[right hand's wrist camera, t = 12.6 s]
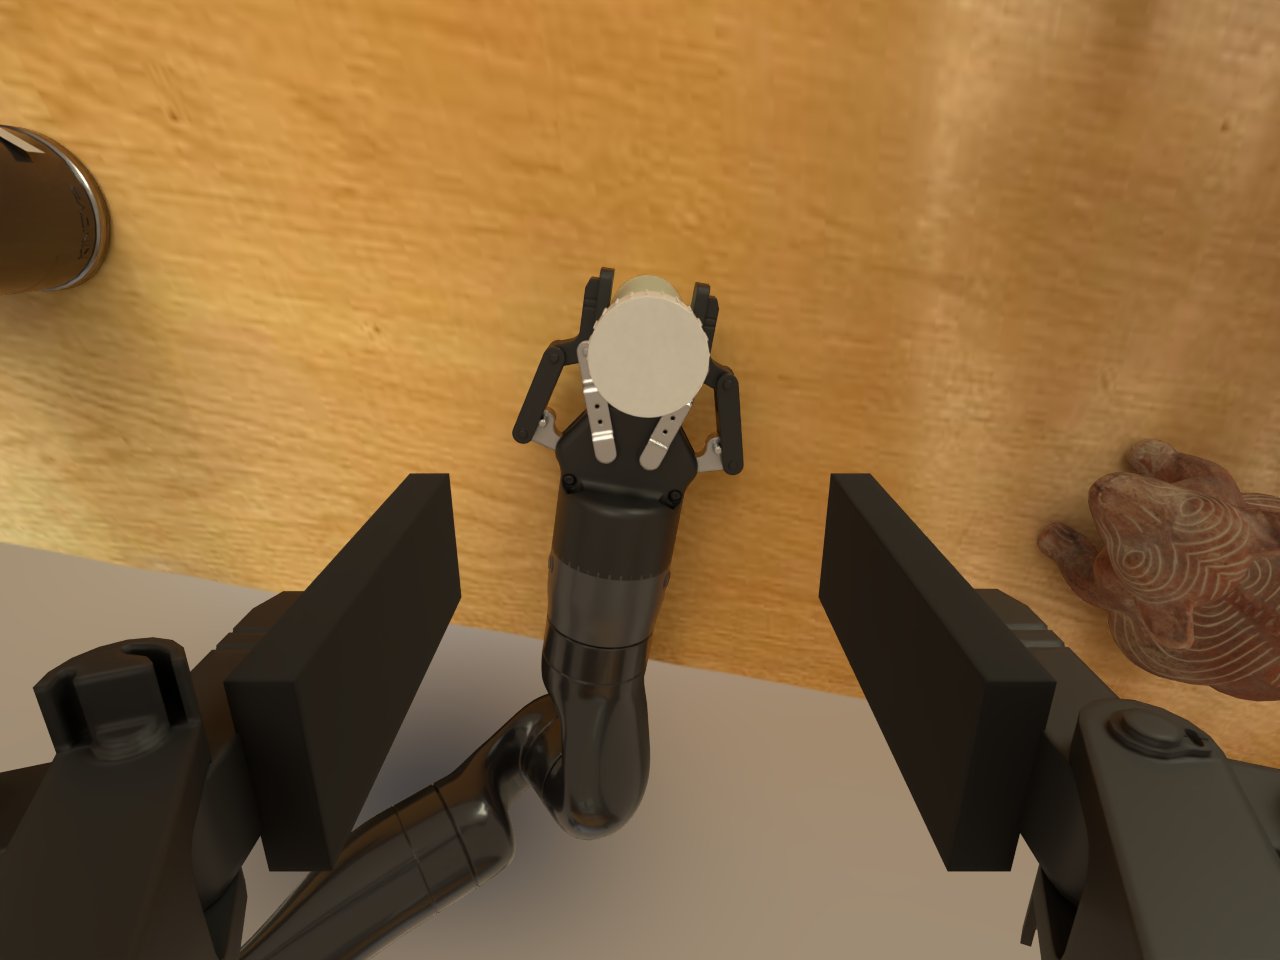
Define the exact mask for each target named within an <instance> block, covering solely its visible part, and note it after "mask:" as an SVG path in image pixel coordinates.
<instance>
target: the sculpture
mask: <svg viewBox="0 0 1280 960" xmlns="http://www.w3.org/2000/svg"><path fill="white" fill-rule="evenodd" d="M1127 460H1128V462H1129V464H1130V465H1131V466H1132V467H1133V468H1134V469H1136V470H1137V471H1138V472H1139V473H1140V474H1141V475H1140V474H1136V473H1130V472H1121V473H1112V474H1108V475H1106V476H1104V477H1101V478H1099V479H1098V480H1097V481H1096V482H1095V483H1094V484H1093V485H1092V486H1091V488H1090V490H1089V499H1088V503H1089V507H1090V510H1091V513H1092V517H1093V520H1094V523H1095V525H1096V528H1097V530H1098V532H1099V535H1100V537H1101V539H1102V541H1103V543H1104V545H1105V546H1104V547H1103V548H1102V550H1101V551H1100V552H1099V553H1097V551H1096V549H1095V547H1094V545H1093V544H1092V543H1091V542H1090V541H1089V540H1088V539H1087V538H1086V537H1085V536H1083V535H1082V534H1080V533H1079V532H1077V531H1075V530H1074V529H1072V528H1070V527H1068V526H1066V525H1065V524H1061V523H1054V524H1051V525H1049V526H1048V527H1047V528H1045V529H1044V530H1043V531H1042V533H1041V534H1040V535H1039V537H1038V542H1037V544H1038V546H1039V548H1040V549H1041V551H1042V552H1043V553H1044V554H1046V555H1047V556H1049V557H1050V558H1051V559H1053V560H1054V561H1055V562H1057V565H1058V567H1059V569H1060V571H1061V573H1062V575H1063V577H1064V578H1065V580H1066V581H1067V583H1068V585H1069V586H1070V587H1071V588H1072V590H1073V591H1074V592H1075V593H1076V594H1077V595H1078V596H1079V597H1080V598H1081V599H1082V600H1084V601H1086V602H1087V603H1089V604H1091V605H1094V606H1096V607H1099V608H1101V609H1104V610H1108V622H1109V627H1110V631H1111V633H1112V636H1113V638H1114V641H1115V642H1116V644H1117V645H1118V646H1119V648H1120V649H1121V651H1122V652H1123V653H1124V655H1125V656H1126V657H1127V658H1128V659H1129V660H1130V661H1132V662H1133V663H1134V664H1135V665H1137V666H1139V667H1140V668H1142V669H1144V670H1145V671H1147V672H1149V673H1152V674H1154V675H1156V676H1158V677H1162V678H1166V679H1170V680H1175V681H1179V682H1183V683H1188V684H1195V685H1209V686H1210V687H1212V688H1214V689H1215V690H1217V691H1219V692H1222V693H1224V694H1227V695H1230V696H1233V697H1236V698H1239V699H1245V700H1252V701H1277V700H1280V498H1278V497H1275V496H1271V495H1265V494H1259V493H1240V490H1239V489H1238V487H1237V485H1236V483H1235V481H1234V479H1233V478H1232V476H1231V475H1230V473H1229V472H1228V471H1227V470H1226V469H1224V468H1223V467H1221V466H1219V465H1218V464H1216V463H1214V462H1211V461H1209V460H1206V459H1202V458H1199V457H1195V456H1191V455H1187V454H1183V453H1179V452H1177V451H1176V450H1175V449H1174V448H1173V447H1172V446H1170V445H1169V444H1168V443H1166V442H1163V441H1160V440H1157V439H1144V440H1143V441H1141V442H1139V443H1138V444H1136V445H1135V446H1134V447H1133V449H1132V450H1131V452H1130V453H1129V455H1128V459H1127Z"/></svg>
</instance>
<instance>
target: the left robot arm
mask: <svg viewBox="0 0 1280 960" xmlns="http://www.w3.org/2000/svg"><path fill="white" fill-rule="evenodd" d="M109 241H110V222H109V216H108V211H107V207H106V204H105V201H104V199H103V196H102V194H101V192H100V190H99V188H98V186H97V184H96V182H95V181H94V179H93V178H92V176H91V175H90V173H89V172H88V170H87V169H86V168H85V167H84V166H83V164H82V163H81V162H80V161H79V160H78V159H77V158H76V157H75V156H74V155H73V154H72V153H71V152H69V151H68V150H67V149H66V148H64V147H63V146H62V145H60V144H59V143H57V142H56V141H54V140H53V139H51V138H49V137H47V136H45V135H43V134H40V133H38V132H35V131H32V130H29V129H25V128H21V127H14V126H7V125H0V295H7V294H16V293H24V292H32V291H54V290H62V289H67V288H72V287H75V286H77V285H79V284H82V283H83V282H85V281H87V280H88V279H89V278H91V277H92V276H93V275H94V274H95V273H96V272H97V271H98V269H99V268H100V266H101V265H102V263H103V261H104V259H105V257H106V254H107V251H108V247H109ZM614 271H615V269H612V268H606V267H602V268H601V271H600V278H598V277H591V278H590V280H589V282H588V284H587V285H586V287H585V294H584V302H583V310H582V318H581V326H580V332H579V334H578V335H577V336H576V337H574V338H571V339H566V340H555V341H553V342H552V343H551V344H550V345H549V347H548V348H547V349H546V351H545V352H544V354H543V357H542V359H541V362H540V364H539V367H538V369H537V372H536V374H535V377H534V379H533V381H532V384H531V386H530V389H529V391H528V394H527V396H526V399H525V401H524V404H523V406H522V409H521V411H520V413H519V416H518V418H517V421H516V423H515V426H514V428H513V431H512V435H513V438H514V439H515V440H516V441H517V442H518V443H521V444H525V443H528V442H530V441H533V442H536V443H538V444H540V445H543V446H545V447H548V448H550V449H552V450H555V454H556V458H557V460H558V462H559V465H560V469H561V478H560V486H559V494H558V502H557V510H556V517H555V525H554V533H553V541H552V549H551V553H550V556H549V559H548V568H549V572H548V612H547V620H546V628H545V636H544V644H543V650H542V678H543V682H544V685H545V687H546V689H547V691H548V694H546V695H543V696H541V697H539V698H537V699H535V700H533V701H532V702H530V703H529V704H527V705H526V706H525V707H523V708H522V709H521V710H520V711H519V712H517V713H516V714H515V715H514V716H513V717H512V718H511V719H510V720H509V721H508V722H507V723H505V724H504V725H503V726H502V727H501V728H500V729H499V730H498V731H497V732H496V733H495V734H494V735H492V736H491V737H490V738H489V739H488V740H487V741H486V742H485V743H484V744H482V745H481V746H480V747H479V748H478V749H477V750H476V751H475V752H474V753H473V754H472V755H470V756H469V757H468V758H467V759H466V760H465V761H464V762H463V763H462V764H461V765H460V766H459V767H458V768H457V769H456V770H454V771H453V772H452V773H451V774H449V775H448V776H446V777H444V778H442V779H440V780H438V781H436V782H434V783H433V785H429V786H427V787H425V788H424V789H422V790H420V791H418V792H416V793H415V794H413V795H411V796H409V797H407V798H406V799H404V800H402V801H400V802H398V803H397V804H395V805H394V806H391V807H389V808H387V809H386V810H384V811H382V812H380V813H378V814H377V815H375V816H374V817H372V818H370V819H369V820H367V821H366V822H364V823H363V824H361V825H360V826H359V827H357V828H356V829H354V830H353V831H352V832H351V833H350V835H349V837H348V839H347V841H346V843H345V845H344V848H343V850H342V852H341V854H340V856H339V858H338V860H337V862H336V865H335V867H334V869H333V871H310V872H309V873H308V875H307V876H306V877H305V878H304V879H303V880H302V881H301V882H300V884H299V885H298V886H297V887H296V888H295V889H294V890H293V891H292V893H291V894H290V895H289V896H288V897H287V898H286V899H285V901H284V902H283V903H282V904H281V905H280V906H279V907H278V909H277V910H276V911H275V912H274V913H273V914H272V915H271V916H270V917H269V919H268V920H267V921H266V922H265V923H264V924H263V925H262V926H261V927H260V928H259V929H258V930H257V932H256V933H255V934H254V935H253V936H252V937H251V938H250V939H249V940H248V941H247V942H246V943H245V944H244V945H243V946H242V947H241V948H240V955H239V960H370V959H371V958H373V957H374V956H375V955H377V954H378V953H379V952H381V951H382V950H383V949H385V948H386V947H388V946H389V945H390V944H392V943H393V942H395V941H396V940H398V939H399V938H401V937H402V936H403V935H405V934H406V933H408V932H410V931H411V930H413V929H414V928H416V927H417V926H419V925H421V924H422V923H424V922H425V921H427V920H428V919H430V918H432V917H433V916H435V915H436V914H437V913H439V912H441V911H442V910H444V909H445V908H447V907H448V906H450V905H452V904H453V903H455V902H456V901H458V900H459V899H461V898H462V897H464V896H465V895H467V894H469V893H470V892H472V891H473V890H475V889H476V887H477V886H478V887H480V886H481V885H483V884H484V883H486V882H487V881H489V880H490V879H492V878H493V877H495V876H496V875H498V874H499V873H500V872H501V871H503V870H504V869H505V868H506V867H507V866H508V865H509V864H510V863H511V861H512V859H513V858H514V855H515V849H516V842H515V836H514V831H513V827H512V823H511V820H510V817H509V814H508V810H509V809H510V807H511V806H512V804H513V803H514V802H515V801H516V799H517V798H518V797H519V796H520V795H521V794H522V793H523V792H524V791H525V790H526V789H527V788H529V787H531V786H532V787H533V789H534V790H535V792H536V793H537V795H538V796H539V798H540V799H541V801H542V803H543V804H544V806H545V807H546V809H547V810H548V812H549V813H550V815H551V816H552V818H553V819H554V821H555V822H556V823H557V825H558V826H559V827H560V828H561V829H562V830H563V831H564V832H566V833H567V834H569V835H570V836H572V837H574V838H576V839H579V840H585V841H596V840H600V839H604V838H607V837H609V836H611V835H613V834H614V833H616V832H617V831H619V830H620V829H621V828H622V827H624V826H625V825H626V824H627V823H628V821H629V820H630V819H631V818H632V816H633V815H634V813H635V812H636V810H637V808H638V807H639V805H640V803H641V801H642V798H643V796H644V793H645V790H646V786H647V782H648V777H649V769H650V742H649V727H648V712H647V701H646V694H645V687H644V674H645V671H646V665H647V661H648V656H649V651H650V646H651V641H652V635H653V630H654V626H655V622H656V619H657V616H658V613H659V610H660V608H661V605H662V602H663V598H664V594H665V589H666V587H667V585H668V582H669V578H670V563H671V559H672V554H673V548H674V543H675V538H676V533H677V528H678V523H679V518H680V513H681V507H682V502H683V497H684V493H685V490H686V488H687V486H688V485H689V484H690V482H691V481H692V480H693V479H694V478H695V476H696V474H697V472H705V471H715V470H724V471H725V472H726V473H727V474H729V475H736V474H738V473H740V472H741V471H742V469H743V449H742V433H741V417H740V401H739V385H738V380H737V379H736V377H735V376H734V373H733V372H732V370H731V369H730V368H729V367H727V366H722V365H721V364H719V363H717V362H715V361H714V360H713V359H712V358H711V356H710V357H709V366H708V372H707V375H706V378H705V380H704V382H703V383H704V384H706V385H708V386H710V387H711V388H713V389H714V398H715V411H716V424H717V433H712V434H710V435H709V436H708V437H707V438H706V441H705V447H704V449H703V450H702V451H700V452H698V453H695V452H694V450H693V448H692V446H691V444H690V442H689V440H688V438H687V436H686V434H685V432H684V430H683V428H682V426H681V424H682V423H683V421H684V419H685V417H686V415H687V414H688V412H689V410H690V408H691V406H692V403H693V400H694V398H695V396H696V395H695V396H694V397H693V399H692V400H691V401H690V402H688V403H687V404H686V405H685V406H683V407H682V408H680V409H679V410H677V411H675V412H673V413H670V414H667V415H664V416H660V417H651V418H646V417H637V416H633V415H629V414H626V413H624V412H622V411H620V410H618V409H616V408H615V407H613V406H612V405H611V404H609V403H608V402H607V401H606V400H605V399H604V398H603V397H602V396H601V394H600V393H599V392H598V390H597V388H596V387H595V385H594V383H593V381H592V378H591V375H590V374H589V373H590V371H589V366H588V360H587V355H588V348H589V344H588V341H589V338H590V336H591V335H592V334H593V332H594V328H593V327H594V325H595V322H596V321H599V319H600V317H601V316H602V314H603V311H604V309H605V308H609V307H610V300H611V293H612V286H613V279H614ZM709 294H710V286H709V285H708V284H705V283H699V282H696V283H695V287H694V292H693V297H692V303H691V309H692V311H693V313H694V315H695V316H696V318H699V319H700V321H701V323H702V326H701V327H702V329H703V331H704V332H705V334H706V335H707V337H708V341H707V342H708V348H709V353H711V347H712V342H713V337H714V332H715V326H716V321H717V316H718V311H719V307H718V301H717V298H716V297H715V296H709ZM576 363H579V366H580V371H581V376H582V382H583V392H584V397H585V402H586V408H587V409H586V410H585V411H584V412H583V413H582V414H581V415H580V416H579V417H578V418H577V419H576V420H575V421H574V422H573V423H572V424H571V425H570V426H569V427H568V428H567V429H566V430H565V431H564V432H563V433H562V432H560V431H559V430H558V429H557V428H556V425H555V421H556V413H555V411H554V410H553V409H552V408H550V407H548V406H547V405H548V402H549V400H550V397H551V395H552V393H553V390H554V388H555V385H556V383H557V381H558V378H559V376H560V373H561V371H562V369H563V366H565V365H570V364H576Z"/></svg>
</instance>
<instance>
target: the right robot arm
mask: <svg viewBox="0 0 1280 960" xmlns="http://www.w3.org/2000/svg"><path fill="white" fill-rule="evenodd" d="M460 599H461V588H460V578H459V568H458V558H457V548H456V538H455V528H454V518H453V508H452V498H451V488H450V478H449V474H409V475H408V476H407V477H406V479H405V480H404V481H403V482H402V483H401V484H400V485H399V486H398V487H397V489H396V490H395V491H394V492H393V493H392V494H391V495H390V496H389V497H388V499H387V500H386V501H385V502H384V503H383V504H382V505H381V506H380V507H379V509H378V510H377V511H376V512H375V513H374V514H373V515H372V516H371V518H370V519H369V520H368V521H367V522H366V523H365V524H364V525H363V526H362V528H361V529H360V530H359V531H358V532H357V533H356V534H355V535H354V536H353V538H352V539H351V540H350V541H349V542H348V543H347V544H346V545H345V546H344V548H343V549H342V550H341V551H340V552H339V553H338V554H337V555H336V556H335V558H334V559H333V560H332V561H331V562H330V563H329V564H328V565H327V566H326V568H325V569H324V570H323V571H322V572H321V573H320V574H319V575H318V576H317V578H316V579H315V580H314V581H313V582H312V583H311V584H310V585H309V586H308V588H307V589H306V590H305V591H283V592H281V593H279V594H278V595H276V596H274V597H272V598H271V599H269V600H267V601H265V602H264V603H262V604H260V605H258V606H257V607H255V608H253V609H252V610H251V611H250V612H249V613H248V614H247V615H246V616H245V617H244V618H243V619H242V620H241V621H240V622H239V623H238V624H237V625H236V626H235V627H234V628H233V633H228V634H227V635H226V636H225V637H224V638H223V639H222V640H221V641H220V642H219V643H218V644H217V645H216V646H217V648H216V650H211V651H210V652H209V653H208V654H207V655H206V656H205V657H204V659H203V660H202V661H201V662H200V663H199V664H198V665H197V666H196V667H195V668H194V669H193V670H192V671H191V672H190V670H189V666H188V662H187V658H186V654H185V651H184V647H182V646H181V645H179V644H178V643H176V642H175V641H173V640H169V639H162V638H154V637H151V638H140V639H130V640H124V641H120V642H116V643H113V644H109V645H105V646H101V647H98V648H95V649H93V650H90V651H88V652H85V653H83V654H81V655H78V656H76V657H73V658H71V659H69V660H68V661H66V662H64V663H63V664H61V665H59V666H58V667H56V668H54V669H53V670H51V671H49V672H48V673H47V674H46V675H45V676H44V677H43V678H42V679H41V680H40V681H39V682H38V683H37V684H36V685H35V686H34V687H33V689H34V692H35V695H36V698H37V701H38V704H39V706H40V709H41V712H42V715H43V717H44V720H45V723H46V726H47V729H48V731H49V734H50V737H51V740H52V743H53V745H54V748H55V751H56V755H55V757H54V759H53V761H52V762H50V763H45V764H40V765H35V766H31V767H26V768H21V769H16V770H11V771H6V772H1V773H0V960H239V955H240V947H241V940H242V933H243V925H244V918H245V910H246V903H247V891H246V884H245V879H244V875H243V871H242V867H241V866H242V865H243V863H244V861H245V860H246V858H247V857H248V855H249V853H250V852H251V850H252V848H253V847H254V845H255V844H256V842H257V840H258V839H259V837H260V835H261V839H262V843H263V847H264V851H265V855H266V860H267V864H268V868H269V871H333V869H334V867H335V865H336V862H337V860H338V858H339V856H340V854H341V852H342V850H343V848H344V845H345V843H346V841H347V839H348V837H349V835H350V833H351V831H352V828H353V826H354V824H355V822H356V820H357V818H358V816H359V814H360V811H361V809H362V807H363V805H364V803H365V801H366V799H367V797H368V794H369V792H370V790H371V788H372V786H373V784H374V782H375V779H376V777H377V775H378V773H379V771H380V769H381V767H382V765H383V762H384V760H385V758H386V756H387V754H388V752H389V750H390V748H391V746H392V743H393V741H394V739H395V737H396V735H397V733H398V731H399V729H400V726H401V724H402V722H403V720H404V718H405V716H406V714H407V712H408V709H409V707H410V705H411V703H412V701H413V699H414V697H415V695H416V692H417V690H418V688H419V686H420V684H421V682H422V680H423V678H424V675H425V673H426V671H427V669H428V667H429V665H430V663H431V661H432V659H433V656H434V654H435V652H436V650H437V648H438V646H439V644H440V641H441V639H442V637H443V635H444V633H445V631H446V629H447V626H448V625H449V622H450V620H451V618H452V616H453V614H454V612H455V610H456V608H457V605H458V603H459V601H460ZM819 599H820V601H821V603H822V605H823V608H824V610H825V612H826V614H827V616H828V618H829V620H830V622H831V625H832V627H833V629H834V631H835V633H836V635H837V637H838V639H839V642H840V644H841V646H842V648H843V650H844V652H845V654H846V656H847V659H848V661H849V663H850V665H851V667H852V669H853V671H854V673H855V676H856V678H857V680H858V682H859V684H860V686H861V688H862V690H863V693H864V695H865V697H866V699H867V701H868V703H869V705H870V707H871V710H872V712H873V714H874V716H875V718H876V720H877V722H878V724H879V726H880V729H881V731H882V733H883V735H884V737H885V739H886V741H887V743H888V746H889V748H890V750H891V752H892V754H893V756H894V758H895V760H896V763H897V765H898V767H899V769H900V771H901V773H902V775H903V777H904V780H905V782H906V784H907V786H908V788H909V790H910V792H911V794H912V797H913V799H914V801H915V803H916V805H917V807H918V809H919V811H920V813H921V816H922V818H923V820H924V822H925V824H926V826H927V828H928V831H929V833H930V835H931V837H932V839H933V841H934V843H935V845H936V847H937V850H938V852H939V854H940V856H941V858H942V860H943V862H944V865H945V867H946V869H947V871H1011V868H1012V864H1013V859H1014V855H1015V851H1016V847H1017V843H1018V839H1019V835H1020V833H1021V835H1022V836H1023V838H1024V840H1025V841H1026V843H1027V845H1028V846H1029V848H1030V850H1031V851H1032V853H1033V854H1034V856H1035V858H1036V859H1037V861H1038V862H1039V867H1038V871H1037V875H1036V879H1035V883H1034V886H1033V890H1032V894H1031V898H1030V901H1029V905H1028V909H1027V913H1026V917H1025V921H1024V924H1023V929H1022V935H1021V942H1020V943H1021V944H1025V945H1028V946H1031V945H1032V941H1033V937H1034V933H1035V930H1038V938H1039V945H1040V953H1041V960H1280V769H1276V768H1271V767H1266V766H1261V765H1256V764H1251V763H1246V762H1242V761H1237V760H1232V759H1228V758H1226V756H1225V754H1224V752H1223V751H1222V750H1221V749H1220V748H1219V746H1218V745H1217V744H1216V743H1215V742H1214V740H1213V739H1212V738H1211V737H1210V736H1209V735H1208V734H1206V733H1205V732H1204V731H1202V730H1201V729H1199V728H1198V727H1197V726H1195V725H1194V724H1192V723H1191V722H1189V721H1188V720H1186V719H1184V718H1182V717H1180V716H1177V715H1175V714H1173V713H1171V712H1169V711H1167V710H1165V709H1163V708H1160V707H1156V706H1153V705H1150V704H1146V703H1143V702H1139V701H1136V700H1129V699H1120V698H1119V697H1118V696H1117V695H1116V694H1115V693H1114V692H1113V691H1112V690H1111V689H1110V688H1109V687H1108V686H1107V685H1106V684H1105V683H1104V682H1103V681H1102V680H1101V679H1100V678H1099V677H1098V676H1097V675H1096V674H1095V673H1094V672H1093V671H1092V670H1091V669H1090V668H1089V667H1088V666H1087V665H1086V664H1085V663H1084V662H1083V661H1082V660H1081V659H1080V658H1079V657H1078V656H1077V655H1076V654H1075V653H1074V652H1073V651H1072V650H1071V649H1070V648H1069V647H1065V646H1064V642H1063V641H1062V640H1061V639H1060V638H1059V637H1058V636H1057V635H1056V634H1055V633H1054V632H1053V631H1052V630H1048V628H1047V625H1046V624H1045V623H1044V622H1043V621H1042V620H1041V619H1040V618H1039V617H1038V616H1037V615H1036V614H1035V613H1034V612H1033V611H1032V610H1031V609H1030V608H1029V607H1028V606H1027V605H1025V604H1023V603H1021V602H1019V601H1018V600H1016V599H1014V598H1012V597H1011V596H1009V595H1007V594H1005V593H1003V592H1002V591H1000V590H998V589H973V588H972V586H971V585H970V584H969V583H968V582H967V581H966V580H965V579H964V578H963V576H962V575H961V574H960V573H959V572H958V571H957V570H956V569H955V568H954V566H953V565H952V564H951V563H950V562H949V561H948V560H947V559H946V558H945V556H944V555H943V554H942V553H941V552H940V551H939V550H938V549H937V548H936V546H935V545H934V544H933V543H932V542H931V541H930V540H929V539H928V538H927V536H926V535H925V534H924V533H923V532H922V531H921V530H920V529H919V528H918V526H917V525H916V524H915V523H914V522H913V521H912V520H911V519H910V518H909V516H908V515H907V514H906V513H905V512H904V511H903V510H902V509H901V508H900V506H899V505H898V504H897V503H896V502H895V501H894V500H893V499H892V497H891V496H890V495H889V494H888V493H887V492H886V491H885V490H884V489H883V487H882V486H881V485H880V484H879V483H878V482H877V481H876V480H875V479H874V477H873V476H872V475H871V474H831V478H830V488H829V498H828V508H827V518H826V528H825V538H824V548H823V558H822V568H821V578H820V588H819Z"/></svg>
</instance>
